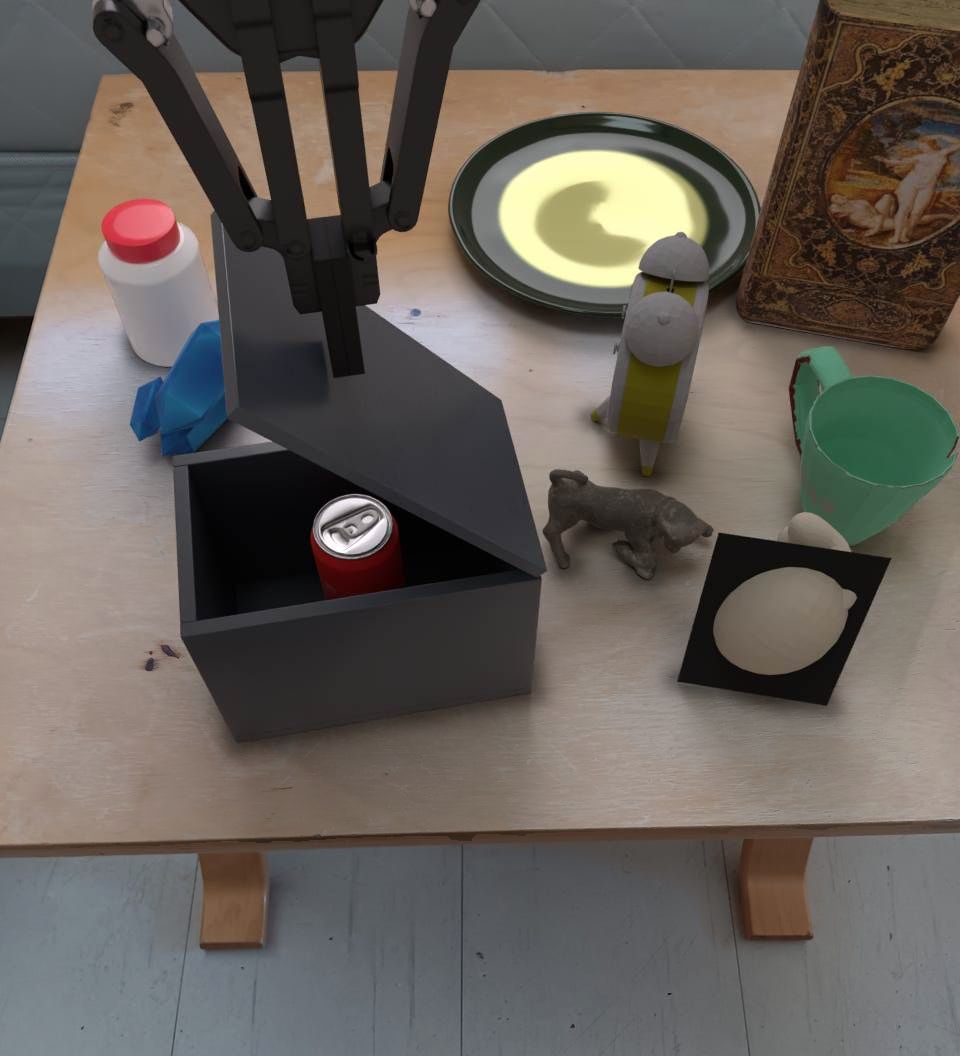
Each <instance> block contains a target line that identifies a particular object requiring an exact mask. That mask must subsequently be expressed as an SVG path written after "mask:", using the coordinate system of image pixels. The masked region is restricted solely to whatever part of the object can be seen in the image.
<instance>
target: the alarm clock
mask: <svg viewBox="0 0 960 1056" xmlns="http://www.w3.org/2000/svg"><path fill="white" fill-rule="evenodd" d="M639 270H641V271H643V272H640V273H638V274H637V275H636V277H635V279H634V282H633V284H632V286H631V290H630V298H629V302H628V307H627V310H625V309H626V306H625V305H624V307H623V311H622V317H620V319H621V320H624V321H623V325H622V330H621V335H620V339H619V340H615V341H614V345H613V350H612V355H616V354H617V355H616V361H615V365H614V366H615V367H614V372H613V377H612V382H611V389H610V394H609V396H608V397H607V398H606V399H604V401H603V402H602V403H601V404H599V406H598V407H596V408H595V409H594V410H593V411H592V412H591V413H590V415H589V416H590V419H591V421H593V422H595V421H599V420H603V419H605V418H606V420H605V426H606V427H605V428H606V429H607V430H608V431H609V432H610V433H612V434H616V435H617V436H620V437H626V438H630V439H631V438H632V439H637V440H638V442H639V454H640V466H641V475H642V476H645V477H649V476H651V475H652V473H653V469H654V466H655V462H656V459H657V455H658V452H659V448H660V445H661V444H663V443H667V444H670V443H673V442H675V441H676V439H677V437H678V435H679V433H680V429H681V426H682V422H683V417H684V415H685V410H686V406H687V401H688V397H689V393H690V389H691V384H692V380H693V375H694V371H695V366H696V363H697V361H696V360H697V356H698V354H699V353H698V352H699V347H700V343H701V338H702V333H703V328H704V323H705V317H706V312H707V307H708V301H709V295H710V294H709V286H708V285H707V284H706V283H705V281H706V280H708V277H709V263H708V260H707V257H706V254H705V252H704V250H703V249H702V248H701V246H700V245H699V244H698V243H697V242H695V241H694V240H692V239H690V238H688V237H687V236H686V234H685V233H684V232H677V233H676V235H673V236H667V237H664V238H662V239H659V240H657V241H656V242H655V243H653V244H652V245H651V246H650V247H649V248H648V249H647V251H646V252H645V253H644V255H643V257H642V259H641V261H640V264H639ZM708 294H709V295H708ZM624 315H626V316H625V317H624ZM616 352H617V353H616Z"/></svg>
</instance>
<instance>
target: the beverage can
mask: <svg viewBox="0 0 960 1056" xmlns="http://www.w3.org/2000/svg"><path fill="white" fill-rule="evenodd" d="M311 545H312V549H313V553H314V557H315V561H316V565H317V569H318V573H319V577H320V580H321V584H322V588H323V592H324V596H325V600H332V599H339V598H345V597H351V596H357V595H364V594H370V593H376V592H382V591H389V590H395V589H401V588H405V582H404V573H403V565H402V557H401V549H400V541H399V532H398V527H397V523H396V521H395V519H394V517H393V516H392V515H391V513H390V512H389V510H388V509H387V507H386V506H385V505H384V504H382V503H381V502H380V501H378V500H377V499H375V498H372V497H369V496H366V495H359V494H350V495H345V496H341V497H338V498H336V499H334V500H332V501H330V502H328V503H327V504H326V505H324V506H323V507H322V508H321V509H320V511H319V512H318V513H317V515H316V517H315V519H314V523H313V528H312V531H311Z"/></svg>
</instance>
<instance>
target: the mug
mask: <svg viewBox="0 0 960 1056" xmlns="http://www.w3.org/2000/svg"><path fill="white" fill-rule="evenodd" d="M820 387H821V389H822V391H821V392H820ZM788 396H789V397H788V398H789V405H790V413H791V420H792V430H793V437H794V439H793V440H794V443H795V446H796V449H797V452H798V455H799V458H800V461H801V462H800V491H801V492H800V493H801V495H800V496H801V497H800V498H801V499H800V500H801V506H802V512H808V513H813V514H815V515H817V516H819V517H821V518H822V519H823V520H825V521H826V522H827V523H828V524H830V525H831V526H832V527H833V528H834V529H835V530H836V531H837V532H838V533H839V534H840V535H841V536H842V537H843V538H844V539H845V540H846V542H847V543H848V545H849V547H854V546H856V545H859V544H860V543H862V542H864V541H866V540H868V539H870V538H871V537H872V538H873V536H876V535H877V534H879V533H881V532H883V531H884V530H886V528H888V527H890V526H891V525H893V524H894V523H895V522H897V521H898V520H900V519H901V518H902V517H903V516H904V515H905V514H906V513H907V512H908V511H909V510H910V509H911V508H912V507H913V506H915V505H916V504H917V503H918V502H919V501H920V500H921V499H922V498H924V497H925V496H926V495H927V494H929V493H930V492H931V491H932V490H933V489H935V487H936V486H937V485H938V484H939V483H940V482H941V481H942V480H944V478H945V477H946V476H947V475H948V474H949V473H950V472H951V470H952V469H953V467H954V466H955V464H956V461H957V457H958V454H959V453H958V451H955V452H954V450H956V448H957V445H958V441H959V438H960V432H959V428H958V426H957V424H956V422H955V421H954V418H953V416H952V415H951V413H950V411H949V410H948V409H947V408H946V407H944V405H943V404H942V403H940V401H939V400H938V399H937V398H936V397H935V396H933V395H931V394H930V393H929V392H926V391H925V390H924V389H922V388H921V387H918V386H917V385H915V384H913V383H909V382H906V381H904V380H901V379H897V378H895V377H890V376H889V377H888V376H879V375H871V374H868V375H867V374H866V375H860V376H853V374H852V372H851V371H850V369H849V366H848V364H847V363H846V360H844V358H843V357H842V355H841V354H840V352H839V351H838V350H837V348H836V347H835V346H832V345H829V346H828V345H826V346H820V347H813V348H807V349H805V350H804V351H801V352H800V353H799V354H798V356H797V357H796V359H795V362H794V365H793V369H792V374H791V377H790V381H789V385H788ZM953 452H954V453H953Z"/></svg>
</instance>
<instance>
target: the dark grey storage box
mask: <svg viewBox="0 0 960 1056" xmlns="http://www.w3.org/2000/svg"><path fill="white" fill-rule="evenodd" d="M172 467H173V468H172V475H173V496H174V497H173V498H174V500H173V501H174V521H175V541H176V542H175V543H176V564H177V566H176V567H177V585H178V588H177V589H178V609H179V632H180V639H181V641H182V642H183V645H184V647H185V649H186V650H187V652H188V654H189V656H190V658H191V660H192V661H193V664H194V665H195V667H196V669H197V671H198V673H199V674H200V677H201V679H202V680H203V682H204V685H205V686H206V688H207V690H208V692H209V693H210V696H211V698H212V699H213V701H214V703H215V705H216V708H217V709H218V711H219V712H220V715H221V716H222V719H223V721H224V723H225V724H226V726H227V728H228V730H229V732H230V734H231V735H232V737H233V738H234V739H233V740H234V742H235V743H237V744H238V743H239V744H240V743H244V742H245V743H246V742H251V741H255V740H263V739H268V738H273V737H280V736H285V735H291V734H297V733H302V732H308V731H314V730H321V729H326V728H333V727H337V726H344V725H351V724H355V723H361V722H367V721H372V720H379V719H385V718H390V717H396V716H403V715H408V714H414V713H419V712H425V711H430V710H431V711H432V710H437V709H443V708H449V707H454V706H460V705H466V704H472V703H478V702H483V701H490V700H496V699H501V698H507V697H513V696H519V695H525V694H530V693H532V688H533V687H532V686H533V677H534V667H535V655H536V645H537V635H538V626H539V625H538V624H539V613H540V605H541V603H540V602H541V594H542V582H543V579H542V578H543V577H542V575H540V576H539V577H535V576H533V575H531V574H529V573H527V572H525V571H523V570H521V569H519V568H517V567H515V566H513V565H511V564H510V563H508V562H506V561H504V560H502V559H500V558H498V557H496V556H494V555H492V554H490V553H488V552H486V551H484V550H482V549H480V548H478V547H476V546H475V545H473V544H471V543H469V542H467V541H465V540H463V539H461V538H459V537H457V536H455V535H453V534H451V533H449V532H447V531H445V530H443V529H441V528H440V527H438V526H436V525H434V524H432V523H430V522H428V521H426V520H424V519H422V518H420V517H418V516H416V515H414V514H412V513H410V512H408V511H407V510H405V509H403V508H401V507H399V506H397V505H395V504H393V503H391V502H389V501H387V500H385V499H383V498H381V497H379V496H377V495H375V494H373V493H372V492H370V491H368V490H366V489H364V488H362V487H360V486H358V485H356V484H354V483H352V482H350V481H348V480H346V479H344V478H342V477H340V476H338V475H337V474H335V473H333V472H331V471H329V470H327V469H325V468H323V467H321V466H319V465H317V464H315V463H313V462H311V461H309V460H307V459H305V458H303V457H302V456H300V455H298V454H296V453H294V452H292V451H290V450H288V449H286V448H284V447H282V446H280V445H278V444H276V443H274V442H272V441H266V442H260V443H252V444H247V445H240V446H239V445H238V446H233V447H225V448H219V449H211V450H205V451H196V452H193V453H188V454H177V455H172ZM350 494H359V495H366V496H369V497H372V498H375V499H377V500H378V501H380V502H381V503H382V504H384V505H385V506H386V507H387V509H388V510H389V512H390V513H391V515H392V516H393V517H394V519H395V521H396V523H397V527H398V532H399V541H400V549H401V557H402V565H403V573H404V582H405V588H401V589H395V590H389V591H382V592H376V593H370V594H364V595H357V596H351V597H345V598H339V599H332V600H325V596H324V592H323V588H322V584H321V580H320V577H319V573H318V569H317V565H316V561H315V557H314V553H313V549H312V545H311V531H312V528H313V523H314V519H315V517H316V515H317V513H318V512H319V511H320V509H321V508H322V507H323V506H324V505H326V504H327V503H328V502H330V501H332V500H334V499H336V498H338V497H341V496H345V495H350Z"/></svg>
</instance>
